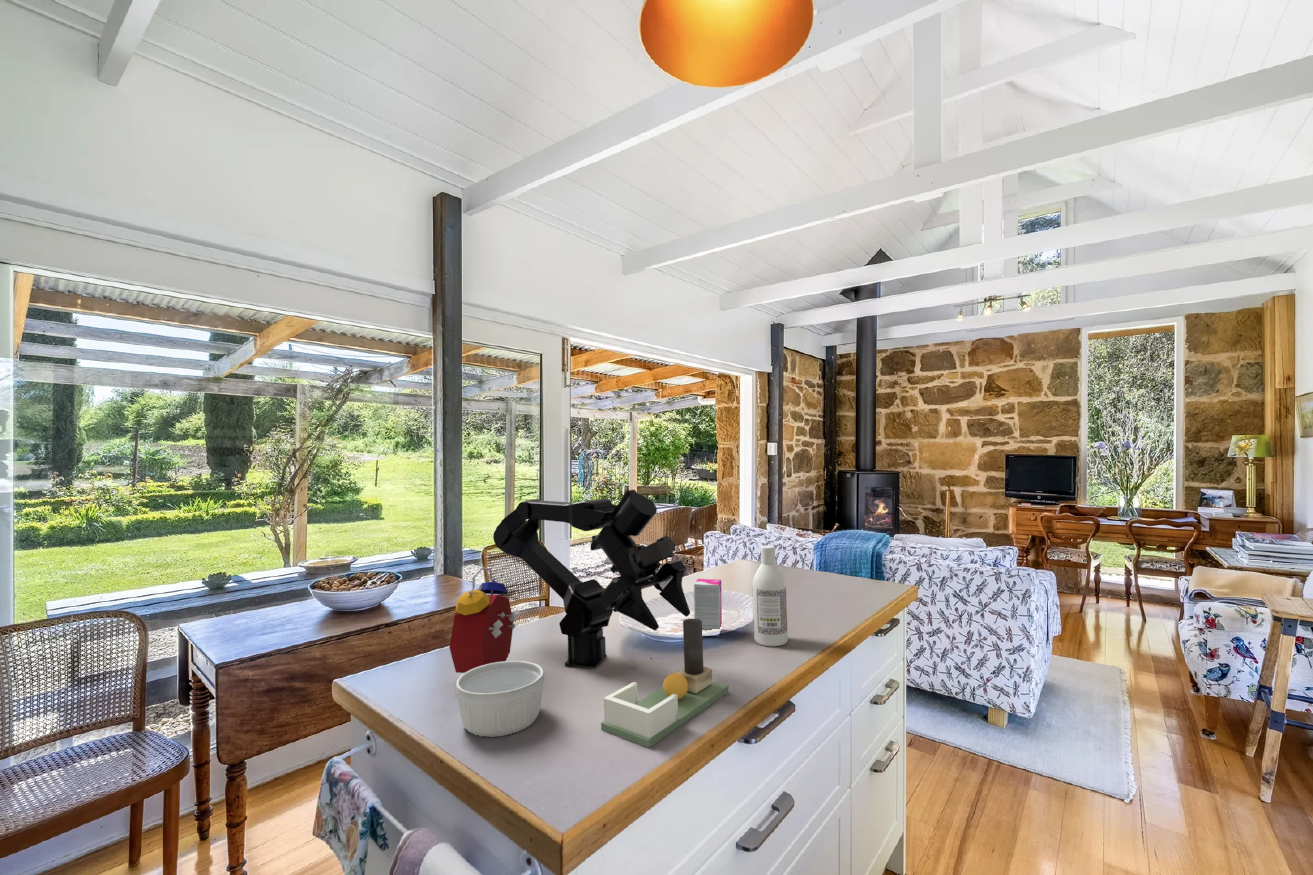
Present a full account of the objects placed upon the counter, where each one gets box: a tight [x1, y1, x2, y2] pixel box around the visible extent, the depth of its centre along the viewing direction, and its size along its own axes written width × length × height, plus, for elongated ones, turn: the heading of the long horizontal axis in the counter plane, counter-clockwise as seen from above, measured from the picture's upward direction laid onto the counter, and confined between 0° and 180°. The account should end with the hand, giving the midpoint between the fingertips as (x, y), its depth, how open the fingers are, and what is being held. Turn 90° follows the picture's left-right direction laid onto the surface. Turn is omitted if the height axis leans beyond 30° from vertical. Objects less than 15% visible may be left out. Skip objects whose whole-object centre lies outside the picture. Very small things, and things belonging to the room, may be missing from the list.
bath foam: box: [752, 545, 789, 647], centre depth 118 cm, size 7×7×20 cm
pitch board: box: [600, 681, 729, 749], centre depth 88 cm, size 9×22×1 cm, turn 142°
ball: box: [662, 672, 688, 700], centre depth 90 cm, size 4×4×4 cm
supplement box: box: [693, 578, 723, 631], centre depth 125 cm, size 6×6×12 cm
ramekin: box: [455, 660, 545, 737], centre depth 87 cm, size 13×13×7 cm
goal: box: [603, 681, 678, 739], centre depth 83 cm, size 9×7×4 cm
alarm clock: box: [449, 566, 521, 674], centre depth 105 cm, size 15×9×20 cm, turn 173°
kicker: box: [676, 618, 713, 693], centre depth 94 cm, size 4×5×11 cm
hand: (673, 621), depth 97 cm, fingers open, 9 cm apart
